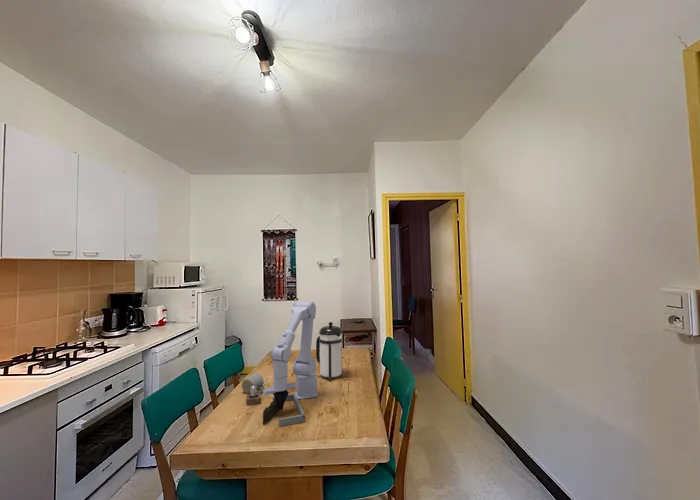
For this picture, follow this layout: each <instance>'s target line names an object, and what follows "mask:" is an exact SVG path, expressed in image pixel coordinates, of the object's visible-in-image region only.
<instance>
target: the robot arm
mask: <svg viewBox="0 0 700 500" xmlns="http://www.w3.org/2000/svg"><path fill="white" fill-rule="evenodd" d="M291 313H292V315H291V318H290V320H289V323H288V326H287V328H286V330H283V332H282V334H281V337H280V338H279V340H278V343H277V345H276V346H275V347H273V348H272V350H271V353H270V359H271V361H272V363H271V364H272V365H273V386H271V387H268V388H265V390H264V389H262V391H263V393H262V395H263V396H264V397H267V396H269V395H273V397H275V399H276V402H277V406H278V409H277V410H279V411H283V410H284V405H285V403H286V401H285V400H286V398H287V396H288V394H289V391H288V390H292V389H296V391H295V392H294V394H295V395H296V397H297V399H298V400H304V399H309V398H310V399H312V398H318V376H317V375H316V372H317V366H316V358H314V357H313V356H312V355H311V353H312V340H313V330H314V320H315V319H316V313H317V306H316V303H315V302H313V301H298V300H296V301H294V303H292V306H291ZM301 321H302V324H301V325H302V326H301V337H300V347H299V348H300V349H299V355H297V356H296V358H295V359H294V363H293V366H292V373H293V374H294V375H295V378H296V381H295V382H289V383H288V361H290V357H291V352H292V346H293V344H294V341H295V339H296V334H295V332H296V330H297V328H298V326H299V325H300V323H301Z"/></svg>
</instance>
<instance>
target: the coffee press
mask: <svg viewBox="0 0 700 500" xmlns="http://www.w3.org/2000/svg"><path fill="white" fill-rule="evenodd" d="M318 331H319V332H318V334H319V336H318V337H317V338H316V340H315V341H316V342H315V356H316V357H315V359H316V361H317V363H318V365H319V370H318V371H319V372H318V374H317V375H316V377H317V378H320V377H322V376H323V377H324V378H328V382H332V378H336V377H339V376H340V377H341V378H344V377H345V373H344V372H343V337H342V336H343V330H342V328H341V327H340V326H338V325H333V321H330V322H328V325H325V326H322V327H321V328H320V329H319V330H318ZM319 374H320V375H319Z"/></svg>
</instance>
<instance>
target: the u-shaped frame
mask: <svg viewBox="0 0 700 500" xmlns="http://www.w3.org/2000/svg"><path fill="white" fill-rule="evenodd" d="M274 398H275V397H274V396H272V401H273V400H274ZM290 401H291V402H292V401H293V404H294V406H295V409H296V410H297V413H298V414H297V415H292V416H287V417H281V418H278V427H284V426H290V425H296V424H301V423H305V422H306V414H305V412H304V410H303V408H302V405H301V404H300V401H299V399H297V397H296V395H295V393H288V396H287V398H286V400H285V402H290Z"/></svg>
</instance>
